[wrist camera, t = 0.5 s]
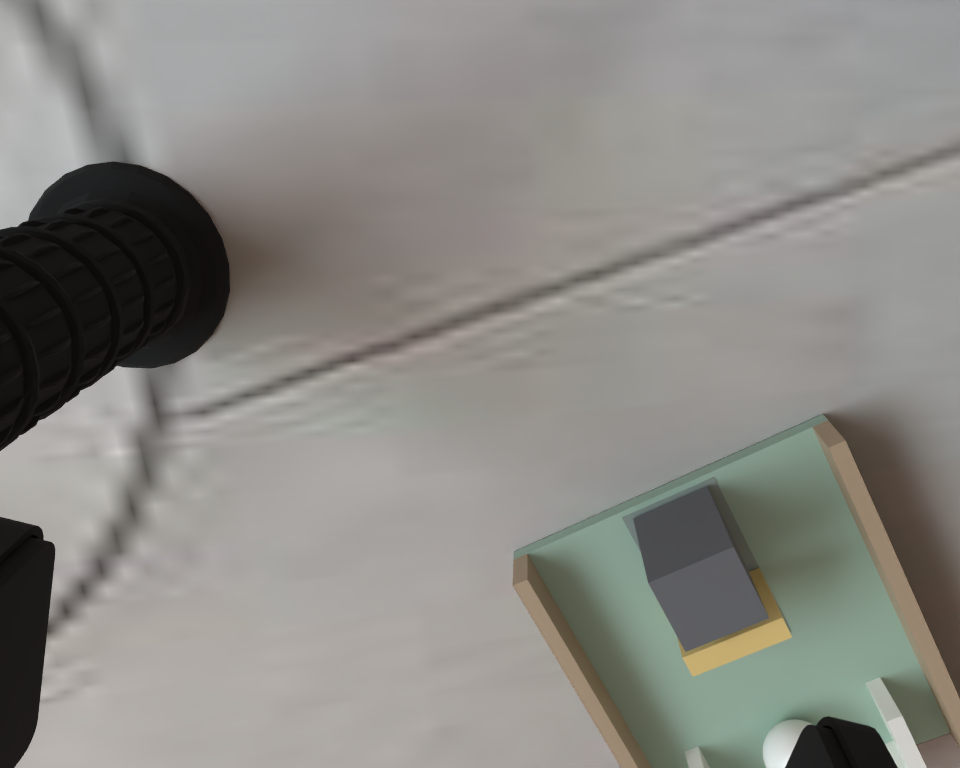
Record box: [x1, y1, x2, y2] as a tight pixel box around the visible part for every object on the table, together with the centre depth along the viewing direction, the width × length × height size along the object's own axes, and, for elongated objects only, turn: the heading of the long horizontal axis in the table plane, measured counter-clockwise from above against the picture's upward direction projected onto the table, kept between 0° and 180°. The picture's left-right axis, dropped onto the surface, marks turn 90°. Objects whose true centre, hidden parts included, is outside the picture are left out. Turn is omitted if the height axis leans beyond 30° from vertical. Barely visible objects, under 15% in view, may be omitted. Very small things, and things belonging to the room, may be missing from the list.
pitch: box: [513, 414, 960, 768], centre depth 47 cm, size 17×20×3 cm
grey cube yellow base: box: [633, 486, 792, 677], centre depth 43 cm, size 5×7×6 cm
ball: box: [763, 719, 813, 768], centre depth 47 cm, size 4×4×4 cm
